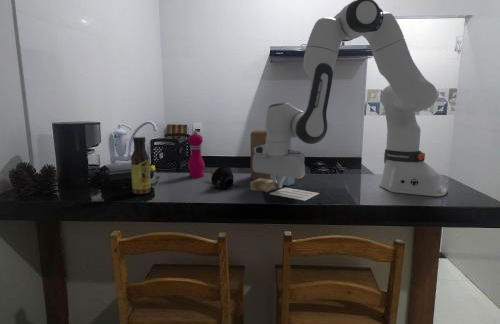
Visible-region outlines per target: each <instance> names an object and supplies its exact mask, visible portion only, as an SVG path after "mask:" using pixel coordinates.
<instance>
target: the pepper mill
mask: <svg viewBox="0 0 500 324" xmlns="http://www.w3.org/2000/svg"><path fill="white" fill-rule="evenodd" d="M203 141H204V139H203V137H202V135H201V134H198V130H193V132H192V134H191V135H189V137H188V144H190V145H189V149H190V158H189V161H188V164H187V168H188V170H189V171H190V172H189V178H193V179H197V178H198V179H199V178H203V177H204V176H205V172H204V169H206V166H205V161H204V159H203V156H202V151H201V150H202V143H203Z"/></svg>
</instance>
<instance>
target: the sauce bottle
mask: <svg viewBox="0 0 500 324" xmlns="http://www.w3.org/2000/svg"><path fill="white" fill-rule="evenodd" d="M132 137H133V136H132ZM132 140H133V150H134V151H133V152H132V154H131V156H130V157H131V158H130V159H131V160H130V161H131V162H130V163H131V164H130V169H131V172H130V173H131V188H132V193H133V194H134V195H145V194H149V193H150V192H151V168H150V167H151V163H150V157H149V154H148V152H147V149H146V136H135V137H133V138H132Z"/></svg>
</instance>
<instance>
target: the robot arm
mask: <svg viewBox="0 0 500 324" xmlns="http://www.w3.org/2000/svg"><path fill="white" fill-rule="evenodd" d="M360 37H363V38H365V40H366V41H367V42H368V44H369V47H370V51H371V53H372V56H373V59H374V62H375V64H376V67H377V70H378V73H379V74H380V75H381V76H383V78H384V79H385V80H386V81H387V82H388V84H389V85H387V86H385V87H384V88H383V89H382V91H381V93H380V102H381V105H382V106H383V108H384V113H385V114H384V115H385V119H386V126H387V128H386V129H387V132H386V133H387V134H386V148H385V149H384V152H383V154H384V156H383V163H384V167H383V172H382V175H381V176H382V177H381V178H380V182H379V185H378V186H379V187H381V188H382V189H385V190H387V191H389V192H391V193H399V194H409V195H417V196H426V197H427V196H428V197H442V196H445V195H446V194H447V192H448V189H447V187H445V186H444V185H443V186H442V185H441V177H440V174H439V173H438V172H437V171H436V170H435V169H434V168H432V167H431V166H430V165H429V164H428V163H426V162H425V159H426V153H425V152H423V151H422V150H420V143H421V142H420V141H421V126H420V125H419V123H418V122H417V117H416V114H415V113H419V112H422V111H425V110H428V109H430V108H431V107H432V106H434V104H435V103H436V100H437V97H438V91H437V89H436V86H435V84H433V83H431V82H430V81H429V80H427V78H425V76H424V75H423V74H422V72H421V71H420V70H419V68H418V66H417V64H416V63H415V62H414V60H413V58H412V56H411V53H410V50H409V47H408V44H407V41H406V39H405V36H404V34H403V30H402V29H401V27H400V25H399V23H398V21H397V19H396V17H395V16H394V15H393V13H392V12H388V11H384V10H382V9H381V8H380V6H379V4H378V3H377V2H376V1H375V0H353V1H351V2H350V3H348V4H347V5H345V6H344V7H343V8H342V9H341V10H339V12H338V13H337V14H336V15H335V16H333V17H328V16H327V17H325V16H324V17H321V18H319V19H317V20H316V21H315V23H314V25H313V27H312V29H311V32H310V35H309V37H308V40H307V43H306V48H305V50H304V55H303V65H302V66H303V70H304V72H305V73H306V75H307V76H308V77H309V79H310V89H309V94H308V99H307V105H306V109H305V110H304V111H303V110H302V109H298V108H296V107H295V106H293V105H292V104H290V103H289V102H287V101H286V102H285V101H284V102H278V103H273V104H270V105H269V106H268V107H267V110H266V114H265V115H266V116H265V130H266V131H267V137H266V144H263V145H261V146H258V147H255V148H254V153H256V154H254V156H253V170H254V172H257V173H264V174H270V178H271V180H272V182H273V187H277V188H278V189H283V186H284V185H283V181H284V180H285V177H292V178H295V179H301V178H303V177H304V176H306V165H305V155H304V153H303V152H301V151H300V150H291V149H292V145H291V143H292V142H291V141H292V140H291V139H293V138H295V139H298V140H300V141H301V142H303V143H306V144H308V145H309V144H310V145H313V144H317V143H319V142H321V141H322V140H323V139H324V138H325V136H326V135H327V133H328V120H327V110H328V104H329V99H330V94H331V89H332V83H333V76H334V72H335V71H334V69H335V67H336V63H337V59H338V55H339V51H340V47H341V44H342V43H343V42H350V41H353V40H354V39H358V38H360ZM277 175H278V176H279V179H280V181H279V182H277ZM277 188H276V189H277Z"/></svg>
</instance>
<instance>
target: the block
mask: <svg viewBox="0 0 500 324" xmlns="http://www.w3.org/2000/svg"><path fill="white" fill-rule="evenodd" d="M266 137H267V131H266V129H264V130H263V129H260V130H259V129H256V130H254V131H252V132H250V179H251V180H252V181H254V180H257V179H259V178H263V179H271V178H270V174H264V173H257V172H254V170H253V156H254V154H256V153H254V148H255V147H258V146H261V145H263V144H266Z"/></svg>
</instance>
